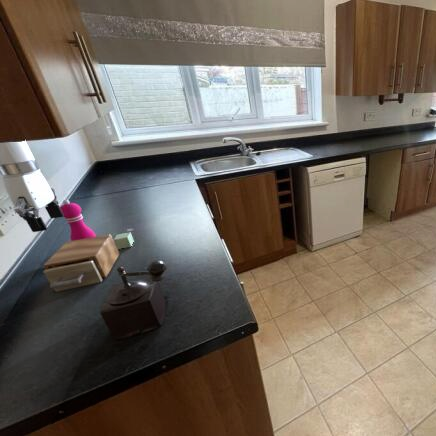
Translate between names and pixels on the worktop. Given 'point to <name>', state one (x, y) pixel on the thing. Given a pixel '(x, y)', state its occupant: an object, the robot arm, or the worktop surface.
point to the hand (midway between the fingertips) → (49, 223)
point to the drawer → (73, 274)
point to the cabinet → (87, 253)
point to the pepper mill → (76, 221)
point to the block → (123, 240)
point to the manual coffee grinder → (135, 303)
